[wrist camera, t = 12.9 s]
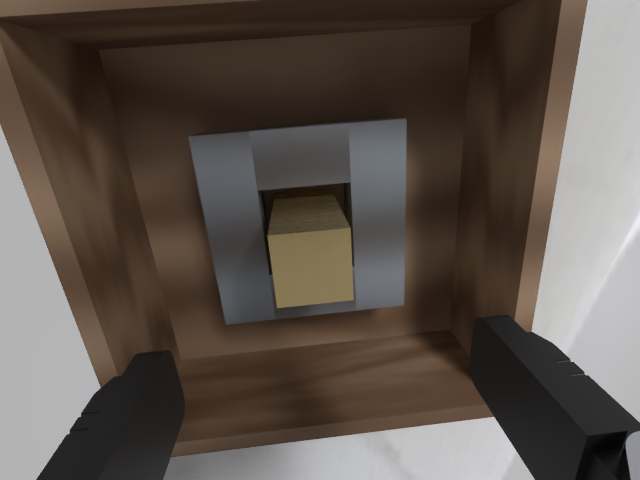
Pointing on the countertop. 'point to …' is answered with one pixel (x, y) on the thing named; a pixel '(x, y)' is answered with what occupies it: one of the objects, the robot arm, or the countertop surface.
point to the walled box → (292, 174)
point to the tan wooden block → (310, 248)
